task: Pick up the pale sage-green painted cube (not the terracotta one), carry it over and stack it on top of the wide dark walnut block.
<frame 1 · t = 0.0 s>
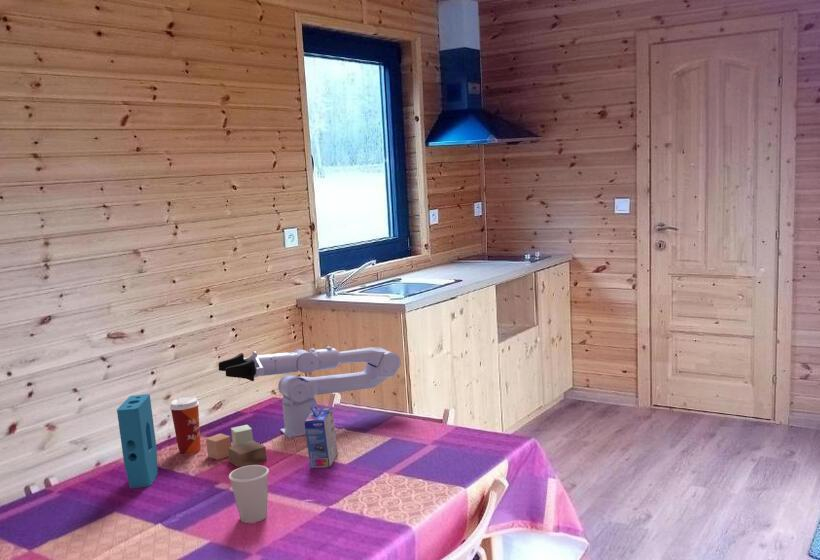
hand: (222, 369, 205), 22 cm above the table, tool horizontal, fingers open, 7 cm apart
ink cartridge box: (323, 461, 193), on the table
paper cup: (190, 451, 208), on the table
block: (144, 481, 189), on the table
walnut base: (248, 462, 197), on the table
sage cube: (243, 446, 208), on the table
dixie cup: (253, 517, 164), on the table
terracotta cube: (220, 455, 202), on the table
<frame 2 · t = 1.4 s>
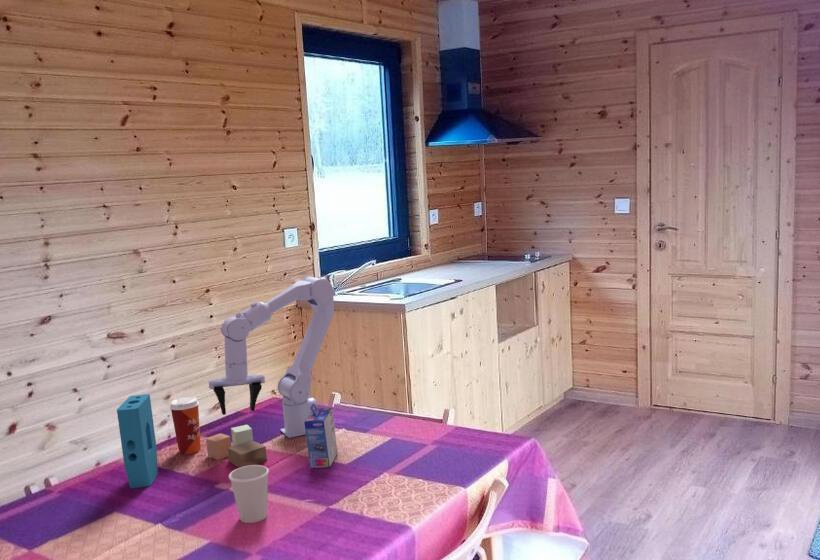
hand: (238, 411, 207), 10 cm above the table, tool pointing down, fingers open, 7 cm apart
nothing on the table moved.
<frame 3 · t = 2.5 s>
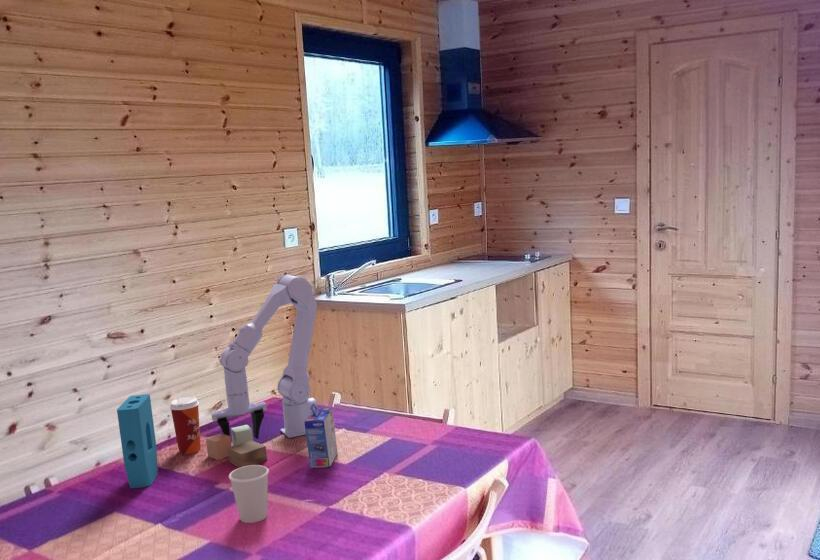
hand: (242, 440, 208), 1 cm above the table, tool pointing down, fingers open, 7 cm apart
terracotta cube: (220, 455, 202), on the table, touching gripper
everything else where it was.
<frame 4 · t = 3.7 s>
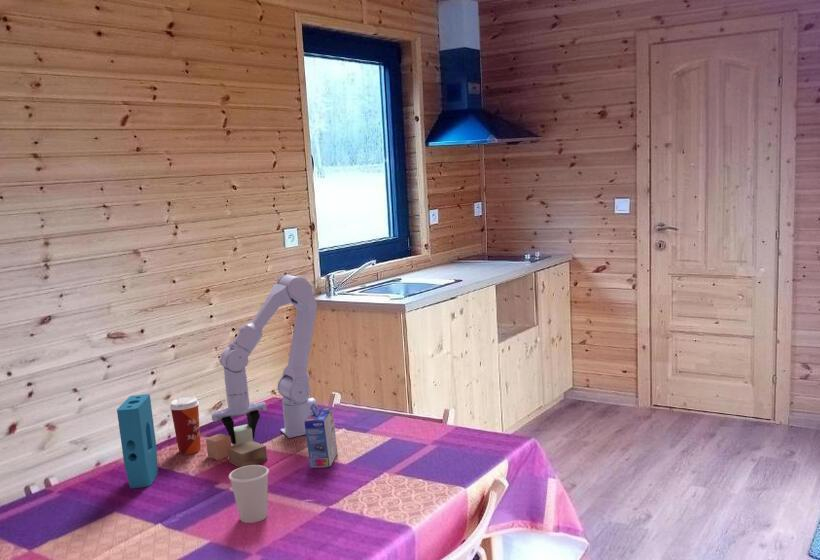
hand: (242, 440, 208), 1 cm above the table, tool pointing down, fingers closed on sage cube, 4 cm apart
sage cube: (243, 445, 208), on the table, touching gripper
terracotta cube: (220, 455, 202), on the table
everything else where it was.
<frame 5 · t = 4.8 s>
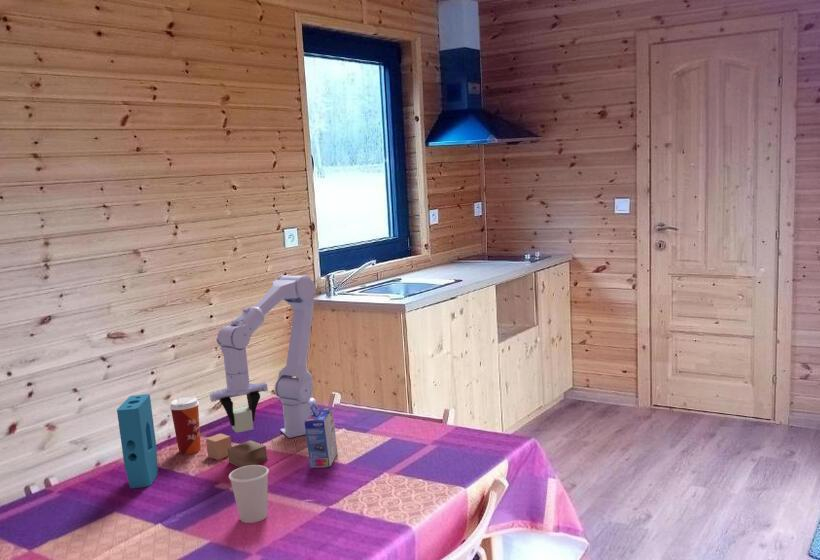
hand: (242, 422, 199), 9 cm above the table, tool pointing down, fingers closed on sage cube, 4 cm apart
sage cube: (242, 428, 200), point 7 cm above the table, touching gripper
everything else where it was.
when the fingers open (7 cm above the table, at t = 6.3 s): sage cube drops 2 cm, resting on walnut base.
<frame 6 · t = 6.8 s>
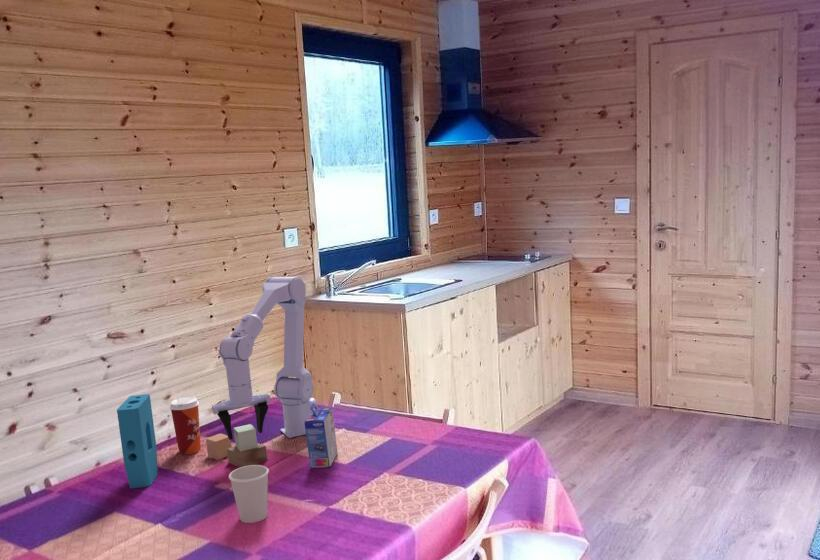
hand: (245, 435, 196), 7 cm above the table, tool pointing down, fingers open, 7 cm apart
walnut base: (248, 462, 197), on the table, touching sage cube
sage cube: (246, 447, 196), point 4 cm above the table, touching walnut base
everything else where it was.
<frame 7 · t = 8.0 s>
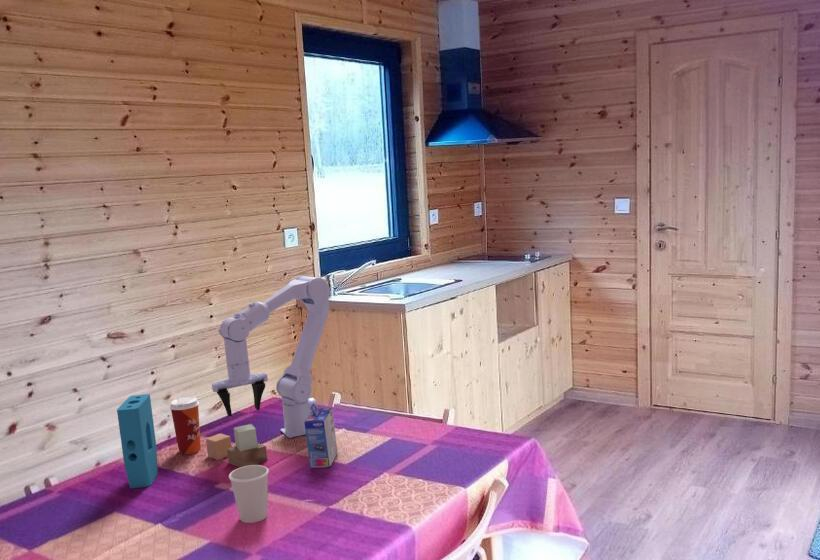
hand: (243, 412, 205), 10 cm above the table, tool pointing down, fingers open, 7 cm apart
nothing on the table moved.
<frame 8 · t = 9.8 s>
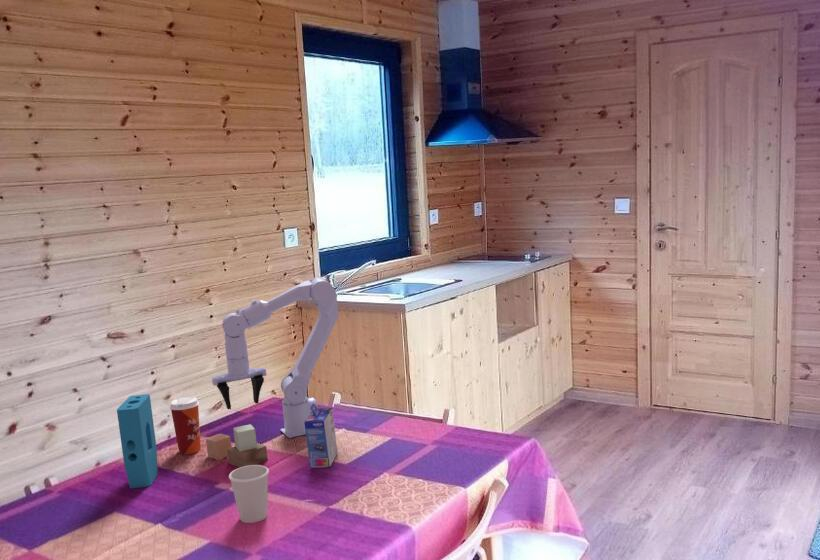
hand: (242, 405, 211), 10 cm above the table, tool pointing down, fingers open, 7 cm apart
nothing on the table moved.
at the end: sage cube 0.3 cm off-centre on the walnut base, point 4.0 cm above the walnut base's base; sage cube tilted 0°; the gripper is holding nothing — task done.
